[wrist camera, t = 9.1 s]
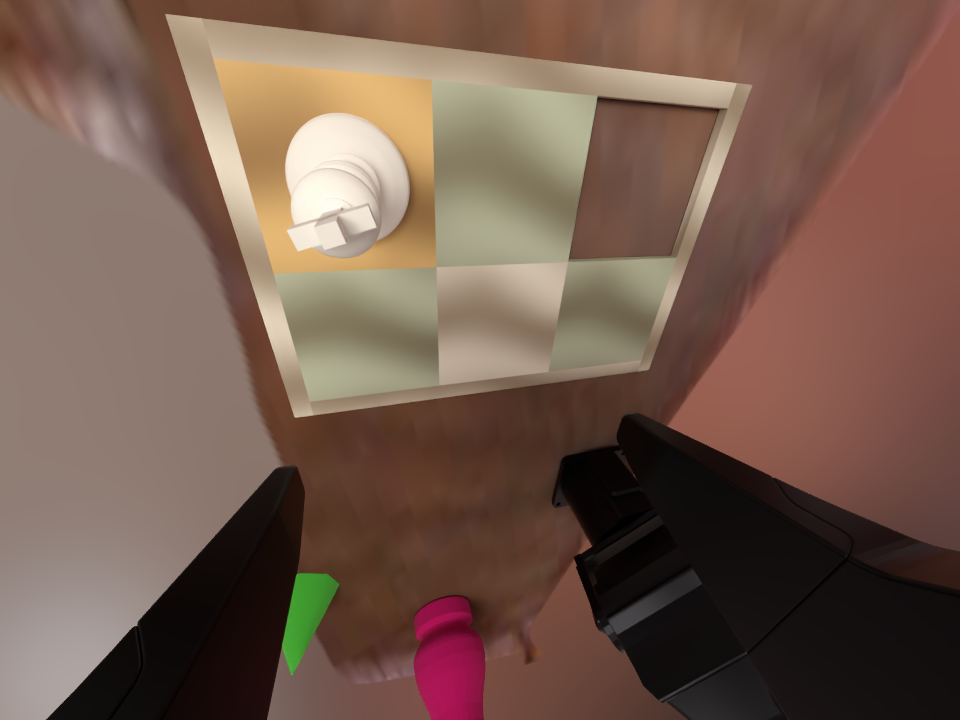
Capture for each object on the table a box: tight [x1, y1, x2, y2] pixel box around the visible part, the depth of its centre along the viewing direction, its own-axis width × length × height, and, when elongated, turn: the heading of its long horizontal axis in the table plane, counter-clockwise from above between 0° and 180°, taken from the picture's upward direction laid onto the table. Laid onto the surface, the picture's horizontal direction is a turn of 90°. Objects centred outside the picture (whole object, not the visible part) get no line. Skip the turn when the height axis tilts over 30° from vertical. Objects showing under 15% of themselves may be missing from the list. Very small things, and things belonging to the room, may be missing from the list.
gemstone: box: [282, 574, 340, 675], centre depth 28 cm, size 6×6×6 cm
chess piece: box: [285, 113, 410, 258], centre depth 11 cm, size 5×5×10 cm
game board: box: [165, 14, 752, 418], centre depth 19 cm, size 17×24×1 cm
